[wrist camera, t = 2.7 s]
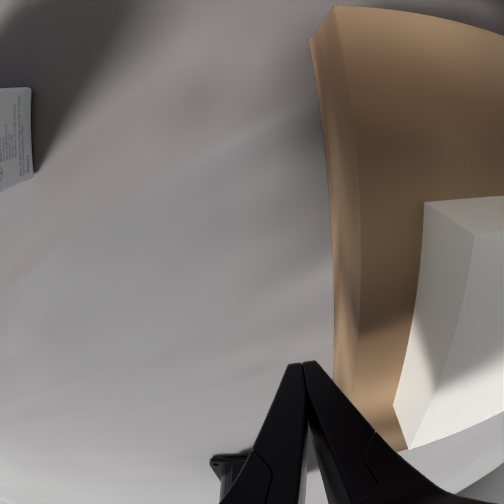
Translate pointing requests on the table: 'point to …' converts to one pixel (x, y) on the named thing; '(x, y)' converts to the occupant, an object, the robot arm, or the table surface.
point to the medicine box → (15, 137)
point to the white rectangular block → (455, 322)
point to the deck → (397, 172)
